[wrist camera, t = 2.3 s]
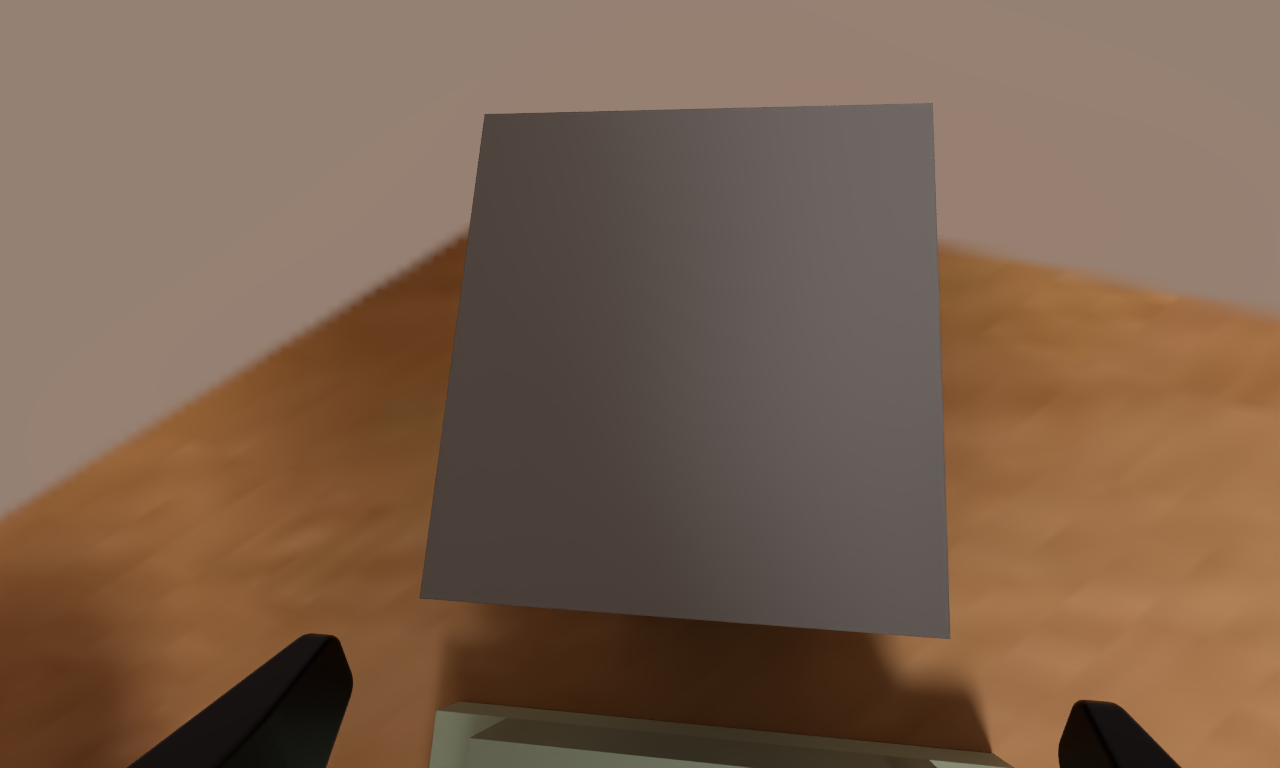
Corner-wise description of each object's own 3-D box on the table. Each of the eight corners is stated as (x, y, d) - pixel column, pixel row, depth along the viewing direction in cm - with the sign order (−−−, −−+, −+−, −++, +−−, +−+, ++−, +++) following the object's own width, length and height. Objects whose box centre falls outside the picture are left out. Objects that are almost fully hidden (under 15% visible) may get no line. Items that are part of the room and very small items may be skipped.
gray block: (827, 607, 19) (950, 639, 7) (611, 591, 20) (419, 598, 8) (829, 375, 20) (932, 103, 9) (627, 370, 21) (485, 114, 10)
